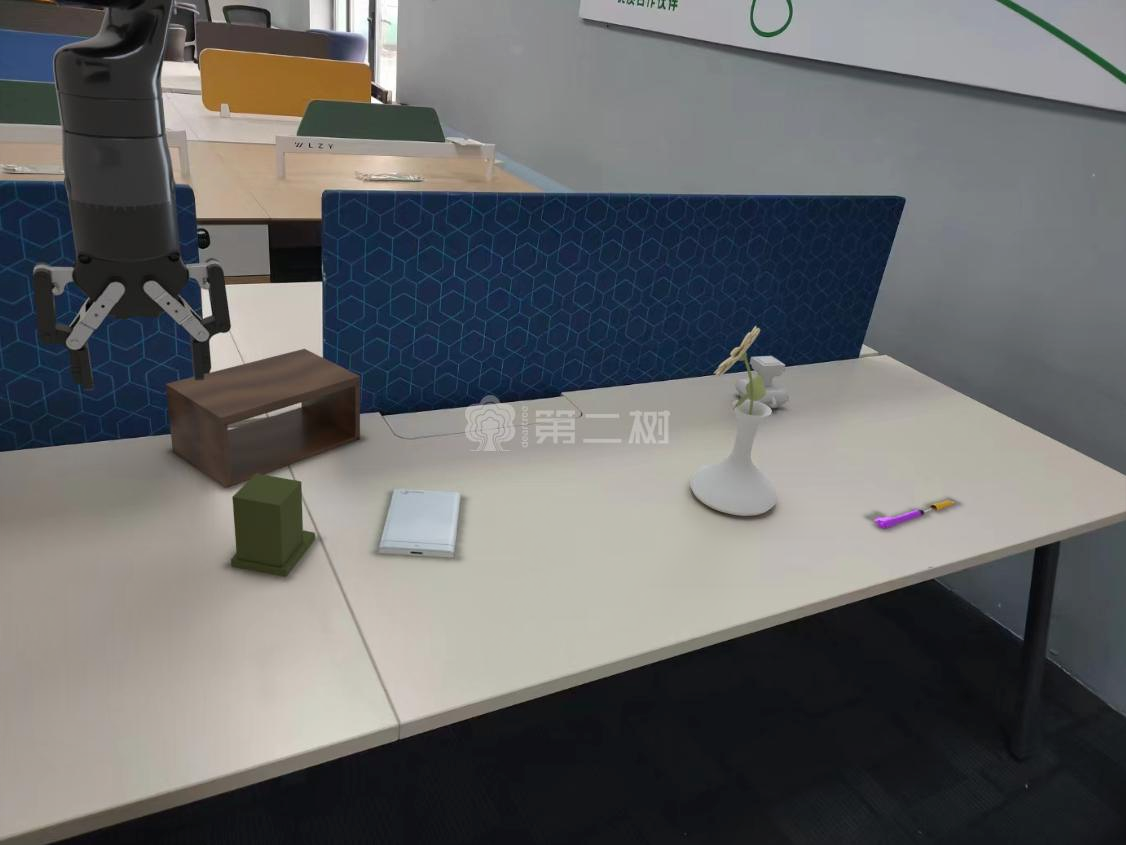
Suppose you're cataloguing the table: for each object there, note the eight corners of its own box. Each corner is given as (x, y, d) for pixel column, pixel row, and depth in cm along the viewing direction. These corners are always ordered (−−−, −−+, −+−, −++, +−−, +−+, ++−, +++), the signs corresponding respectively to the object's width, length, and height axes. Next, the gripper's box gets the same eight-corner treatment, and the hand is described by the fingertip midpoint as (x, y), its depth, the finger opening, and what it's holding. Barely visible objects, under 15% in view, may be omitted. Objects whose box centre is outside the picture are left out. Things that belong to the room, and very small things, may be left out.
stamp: (789, 416, 139) (801, 369, 136) (755, 418, 137) (766, 371, 133) (761, 394, 147) (771, 349, 143) (728, 395, 144) (737, 349, 141)
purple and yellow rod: (883, 532, 108) (956, 507, 117) (883, 523, 108) (956, 499, 117) (865, 525, 111) (938, 502, 119) (866, 517, 110) (939, 494, 119)
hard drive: (393, 487, 103) (378, 545, 91) (461, 492, 103) (454, 550, 92) (393, 499, 103) (378, 558, 92) (460, 503, 104) (453, 562, 93)
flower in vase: (720, 471, 119) (757, 302, 108) (790, 506, 112) (836, 330, 101) (662, 498, 111) (696, 318, 100) (733, 538, 104) (778, 350, 93)
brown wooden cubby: (172, 455, 107) (165, 383, 102) (306, 413, 121) (304, 348, 117) (226, 493, 100) (220, 418, 96) (360, 443, 115) (360, 376, 111)
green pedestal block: (286, 581, 87) (283, 507, 83) (231, 571, 87) (225, 497, 83) (315, 543, 93) (313, 473, 89) (264, 534, 94) (260, 463, 90)
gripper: (214, 182, 72) (227, 359, 79) (17, 179, 65) (50, 372, 72) (226, 202, 66) (239, 391, 73) (11, 201, 59) (47, 409, 66)
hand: (145, 381), depth 72 cm, fingers open, 8 cm apart
